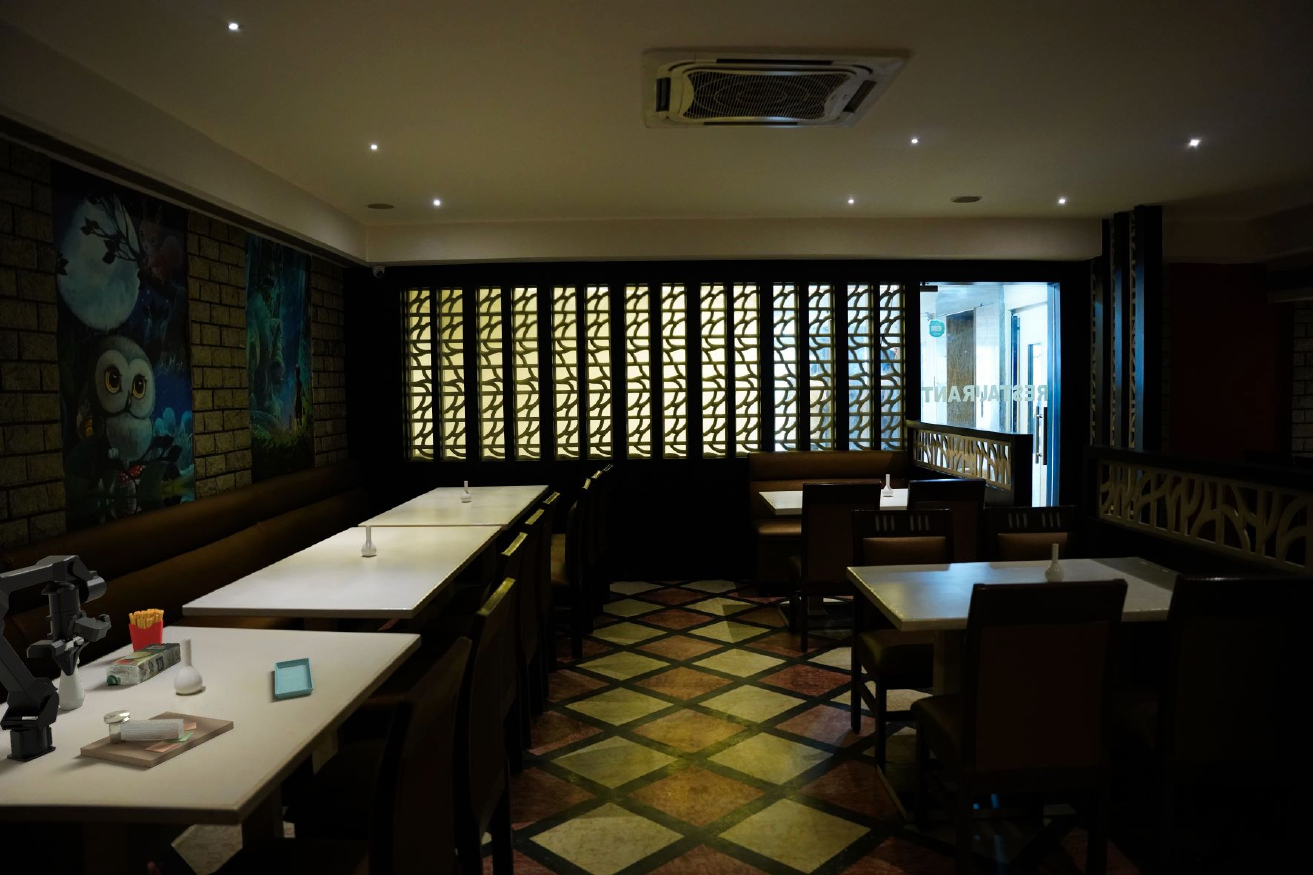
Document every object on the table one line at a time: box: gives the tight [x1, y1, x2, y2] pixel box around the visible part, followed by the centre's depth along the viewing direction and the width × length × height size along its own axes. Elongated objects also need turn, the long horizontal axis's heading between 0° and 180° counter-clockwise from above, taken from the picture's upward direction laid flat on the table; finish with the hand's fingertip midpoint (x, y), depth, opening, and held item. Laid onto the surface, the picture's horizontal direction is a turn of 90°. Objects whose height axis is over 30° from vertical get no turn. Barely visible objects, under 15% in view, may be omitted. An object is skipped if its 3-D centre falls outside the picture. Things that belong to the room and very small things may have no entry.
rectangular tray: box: [274, 657, 315, 700], centre depth 224 cm, size 26×9×2 cm, turn 25°
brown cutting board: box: [79, 711, 235, 768], centre depth 187 cm, size 21×21×2 cm
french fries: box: [128, 608, 165, 652], centre depth 252 cm, size 9×4×13 cm, turn 105°
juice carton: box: [105, 642, 182, 686], centre depth 233 cm, size 20×10×6 cm, turn 178°
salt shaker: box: [57, 656, 86, 711], centre depth 209 cm, size 6×6×13 cm
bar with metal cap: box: [103, 709, 184, 743], centre depth 184 cm, size 16×5×6 cm, turn 90°
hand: (69, 675), depth 194 cm, fingers closed
